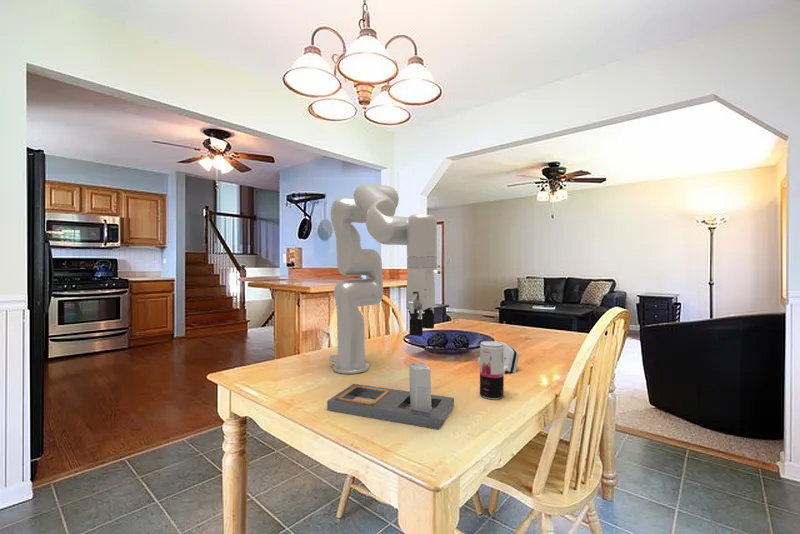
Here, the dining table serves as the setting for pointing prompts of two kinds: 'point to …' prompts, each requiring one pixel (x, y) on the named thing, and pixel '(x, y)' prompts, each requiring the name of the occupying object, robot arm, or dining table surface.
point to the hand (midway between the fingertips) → (422, 331)
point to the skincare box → (420, 387)
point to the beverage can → (491, 369)
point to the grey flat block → (390, 406)
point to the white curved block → (509, 358)
